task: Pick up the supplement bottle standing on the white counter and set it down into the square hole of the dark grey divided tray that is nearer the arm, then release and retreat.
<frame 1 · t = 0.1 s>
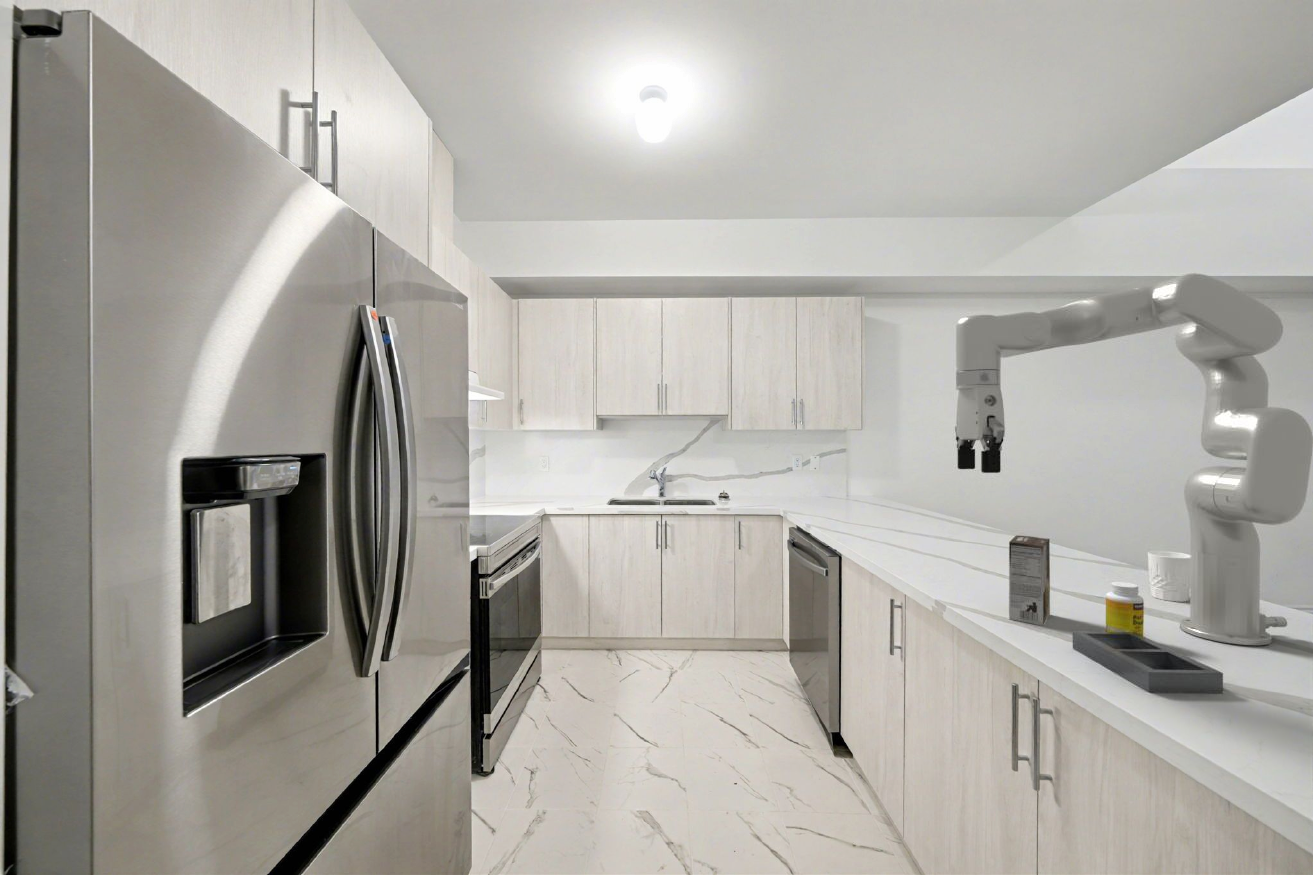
hand: (978, 470, 116), 31 cm above the worktop, tool pointing down, fingers open, 9 cm apart
white cup: (1169, 598, 139), on the worktop
dark grey divided tray: (1140, 668, 99), on the worktop
supplement bottle: (1124, 640, 113), on the worktop
coffee box: (1029, 618, 126), on the worktop
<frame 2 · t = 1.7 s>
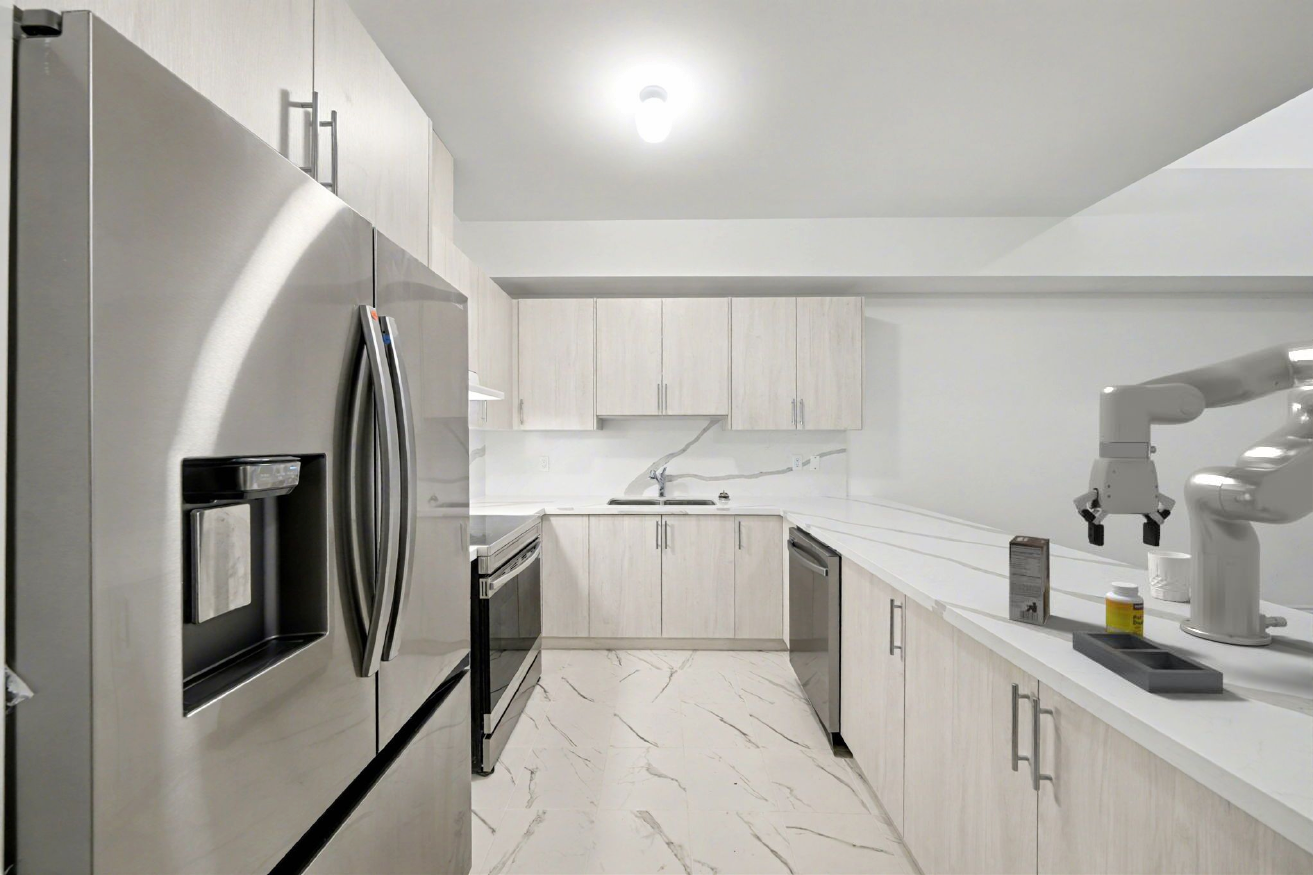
hand: (1123, 544, 112), 17 cm above the worktop, tool pointing down, fingers open, 9 cm apart
nothing on the worktop moved.
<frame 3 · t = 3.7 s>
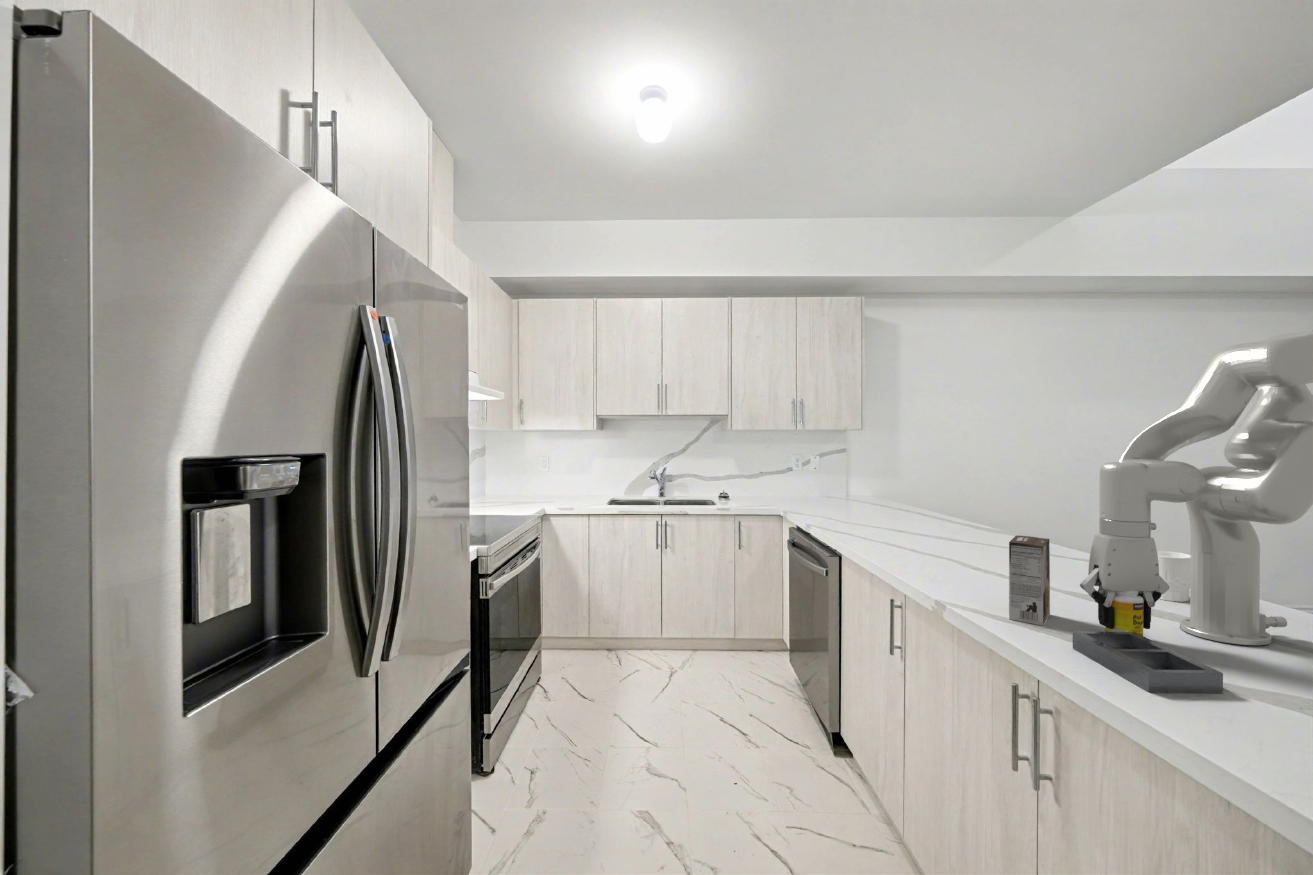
hand: (1124, 625, 113), 3 cm above the worktop, tool pointing down, fingers closed on supplement bottle, 5 cm apart
supplement bottle: (1124, 640, 113), on the worktop, touching gripper
everything else where it was.
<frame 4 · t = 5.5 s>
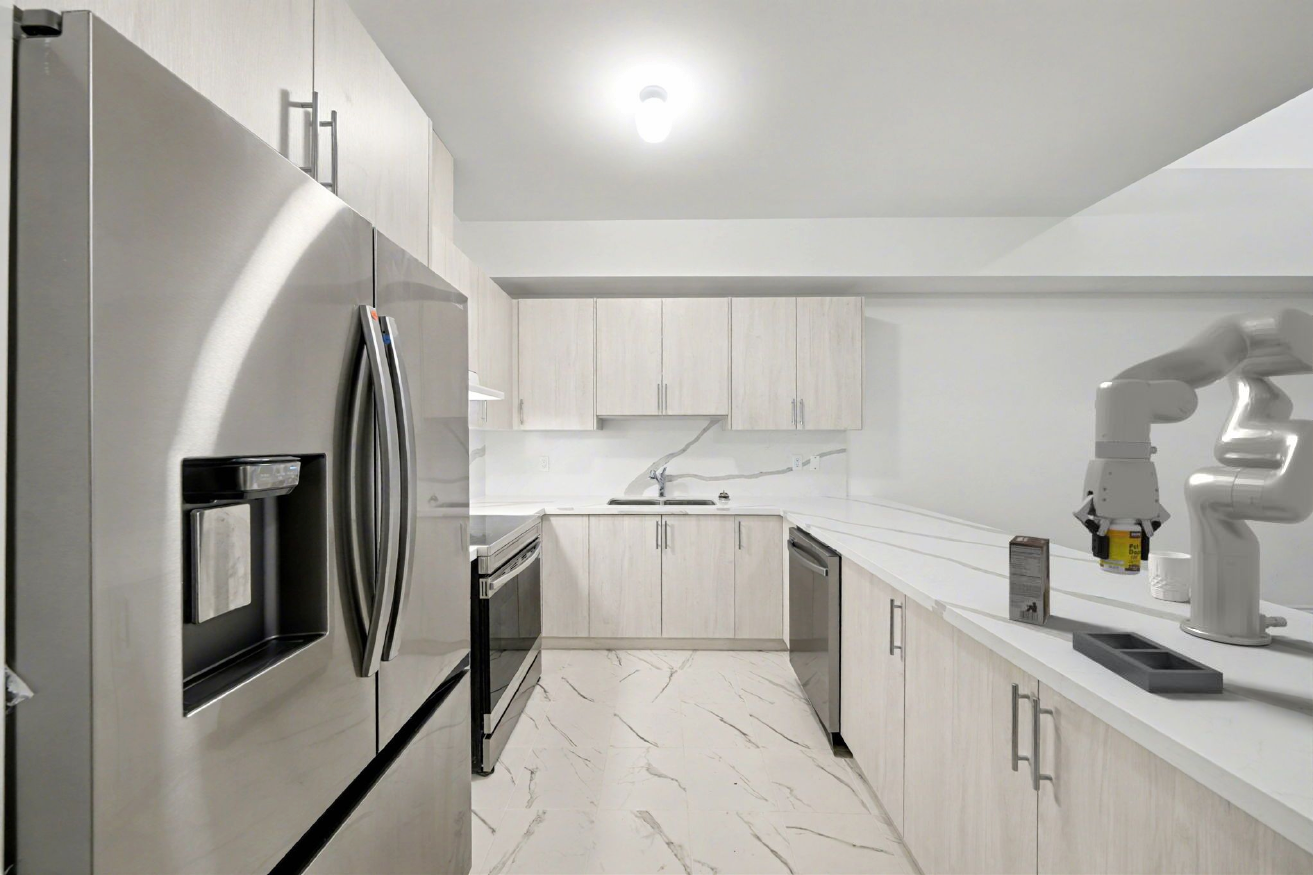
hand: (1120, 557, 104), 17 cm above the worktop, tool pointing down, fingers closed on supplement bottle, 5 cm apart
supplement bottle: (1119, 573, 104), point 14 cm above the worktop, touching gripper
everything else where it was.
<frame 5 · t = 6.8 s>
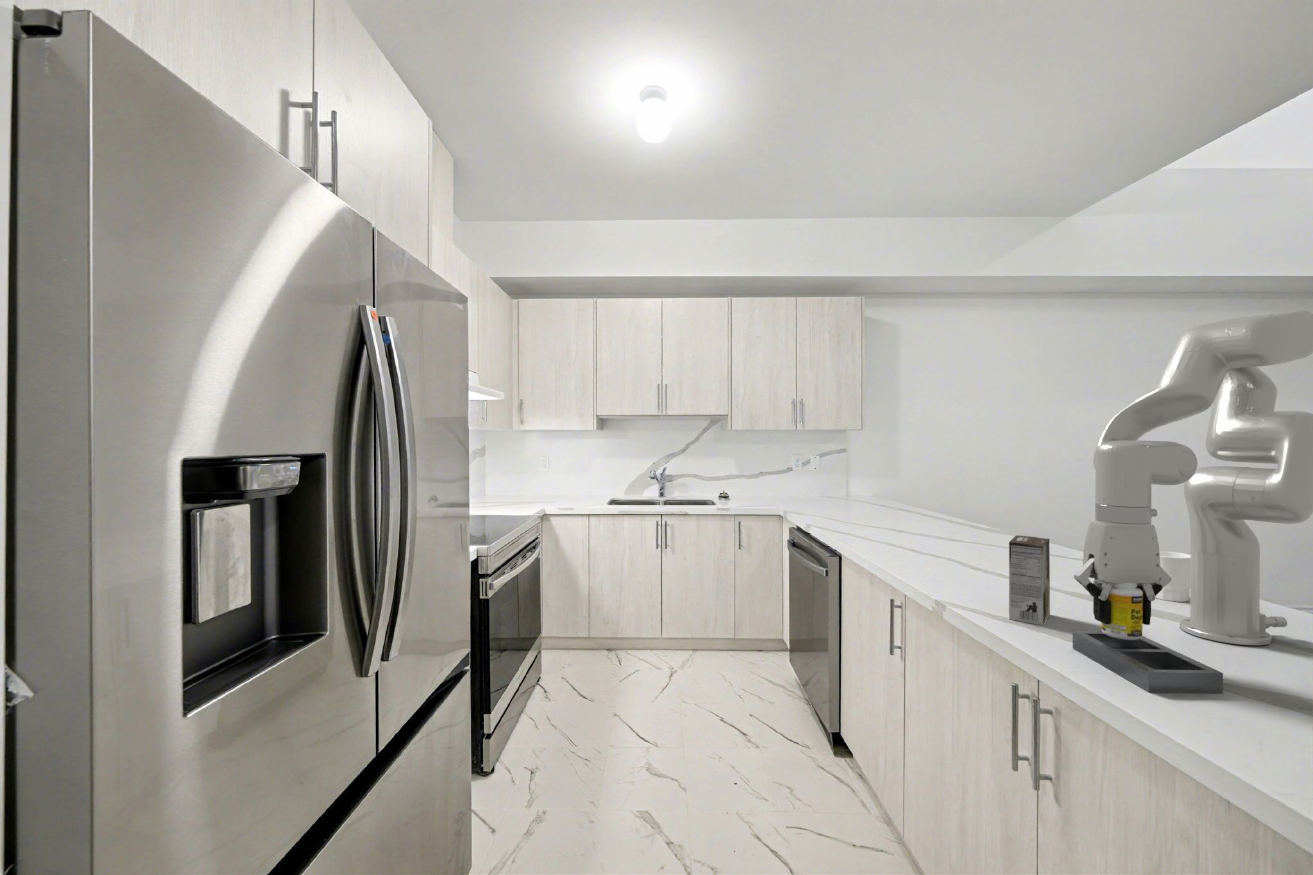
hand: (1121, 621, 103), 6 cm above the worktop, tool pointing down, fingers closed on supplement bottle, 5 cm apart
supplement bottle: (1121, 636, 103), point 4 cm above the worktop, touching gripper
everything else where it was.
when the fingers open (4 cm above the worktop, at t = 7.5 s): supplement bottle drops 2 cm, resting in dark grey divided tray.
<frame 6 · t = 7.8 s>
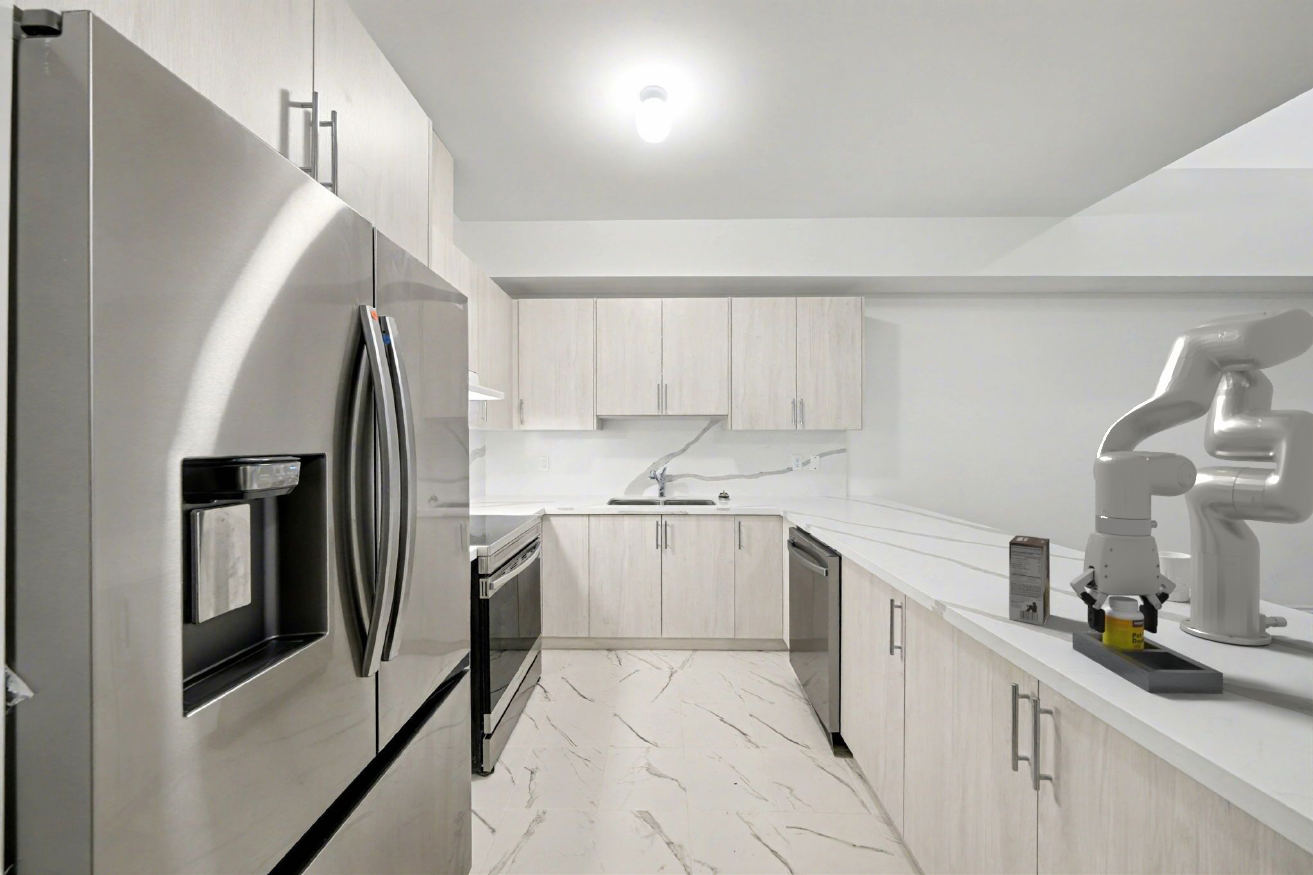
hand: (1122, 629, 103), 5 cm above the worktop, tool pointing down, fingers open, 7 cm apart
supplement bottle: (1123, 659, 103), resting in dark grey divided tray
everything else where it was.
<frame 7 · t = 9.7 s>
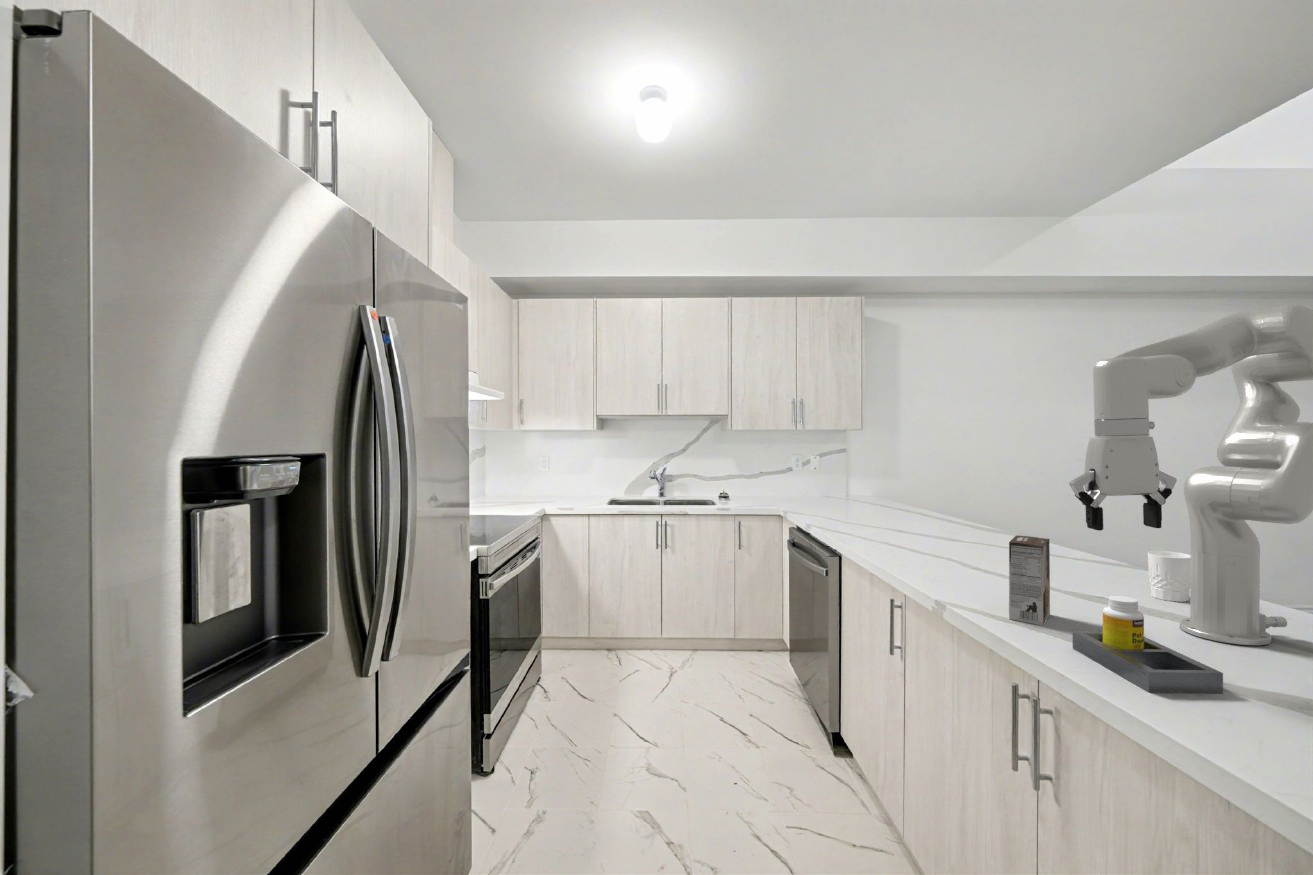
hand: (1123, 527, 106), 22 cm above the worktop, tool pointing down, fingers open, 9 cm apart
nothing on the worktop moved.
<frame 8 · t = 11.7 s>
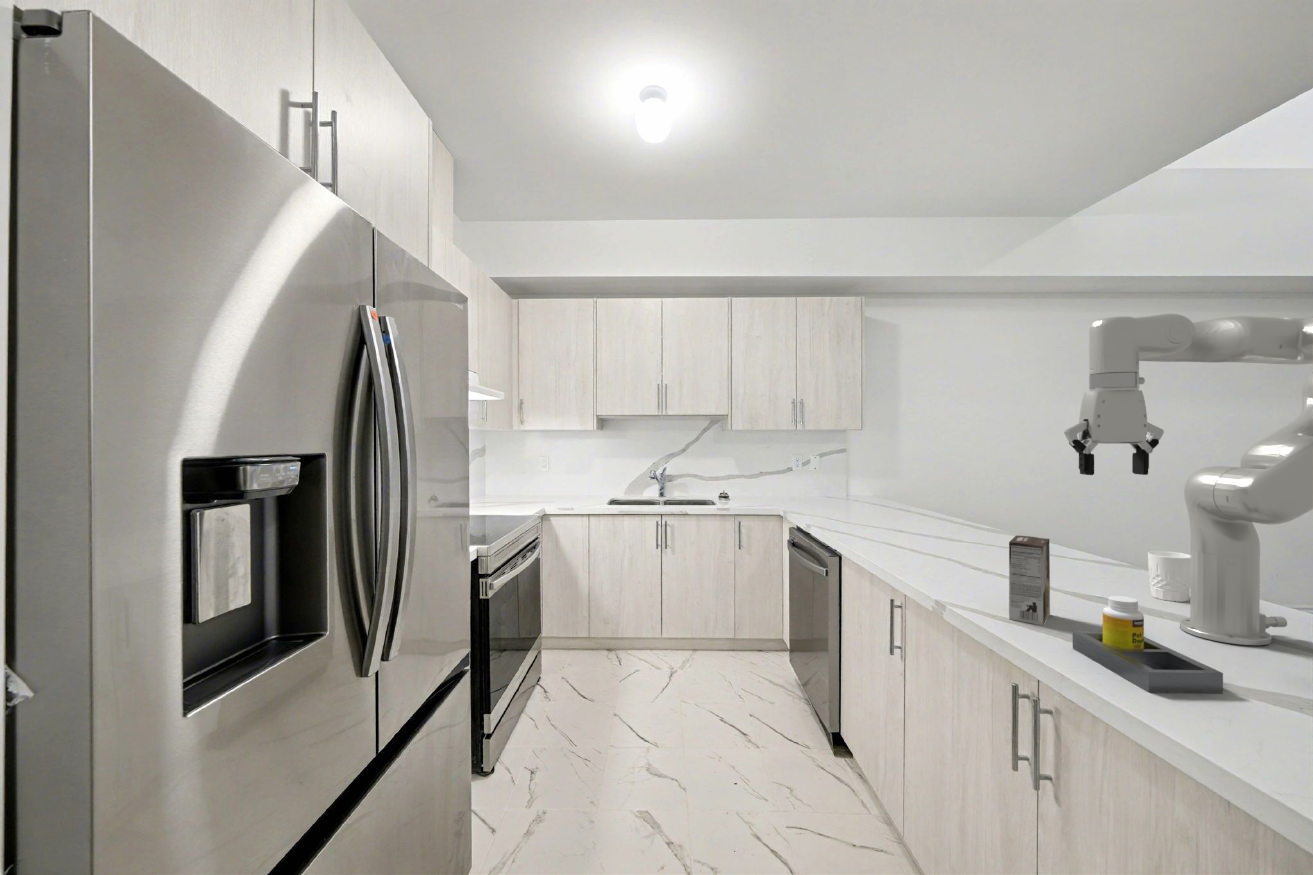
hand: (1113, 474, 115), 30 cm above the worktop, tool pointing down, fingers open, 9 cm apart
nothing on the worktop moved.
at the end: supplement bottle 0.3 cm from the target spot on the dark grey divided tray, point 0.0 cm above the dark grey divided tray's base; supplement bottle tilted 0°; the gripper is holding nothing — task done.
